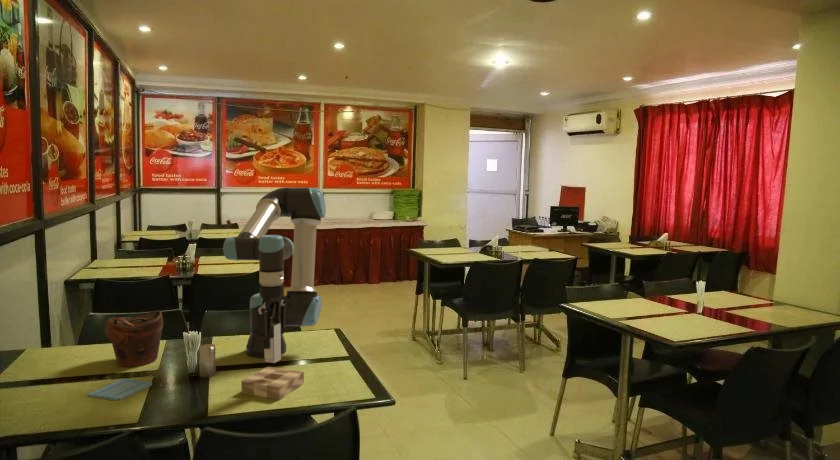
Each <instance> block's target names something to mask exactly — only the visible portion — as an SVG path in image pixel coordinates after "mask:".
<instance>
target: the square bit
mask: <svg viewBox="0 0 840 460" xmlns="http://www.w3.org/2000/svg"><path fill="white" fill-rule="evenodd" d="M271 338H273V358H272V359H270V358H264V362H266V363H272V364H276V363H277V362H279V361H281V360H282V354H281V324H280V323H274V322H272V332H271Z"/></svg>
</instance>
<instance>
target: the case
mask: <svg viewBox="0 0 840 460" xmlns="http://www.w3.org/2000/svg"><path fill="white" fill-rule="evenodd" d="M163 327H164V317H163V313H162V311H161V310H157V309H156V310H153V311H150V312H147V313H142V314H139V315H134V316H118V317H110V318H108V319H107V321H106V325H105V328H104V333H105V335H106V337H107V339H109V340H110V342H111V344H112V349H113V353H114V355H115V356H114V357H115V358H116V363H117V365H118V366H120V367H126V368H127V367H128V368H129V367H131V368H132V367H139V366H146V365H149V364H151V363H154V362H156V360H157V359H158V356H159V350H160V343H161V339H162V331H163Z"/></svg>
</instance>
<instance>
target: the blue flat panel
mask: <svg viewBox="0 0 840 460" xmlns="http://www.w3.org/2000/svg"><path fill="white" fill-rule="evenodd" d="M152 385H153V383H152V382H148V381H143V380H136V379H130V378H129V379H128V378H121V379H119V380H118V379H117V380H116V381H114V382H112V383H109V384H107V385H104V386H102V387H100V388H97V389H95V390H93V391H91V392H89V393H87V396H88V397H93V398H98V399H104V400H110V401H114V402H116V401H122V400H123V399H126V398H129V397H130V396H133V395H134V394H137V393H139V392H140V391H143V390H145V389H148V388H149V387H151V386H152Z"/></svg>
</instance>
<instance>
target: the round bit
mask: <svg viewBox="0 0 840 460" xmlns="http://www.w3.org/2000/svg"><path fill="white" fill-rule="evenodd" d="M198 363H199V377H201V378H211V377H214V376H215V375H217V374H216V373H217V367H216V344H213V343H205V344H204V343H203V344H201V345H200V346H198Z"/></svg>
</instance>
